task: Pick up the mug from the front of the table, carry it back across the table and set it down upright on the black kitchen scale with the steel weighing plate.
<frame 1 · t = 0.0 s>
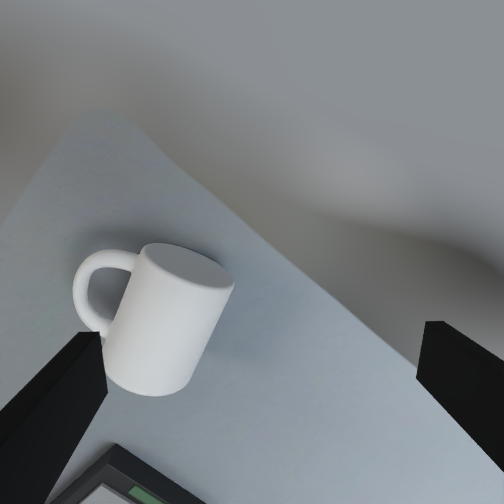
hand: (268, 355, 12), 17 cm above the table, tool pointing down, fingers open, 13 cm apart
mug: (158, 288, 28), on the table
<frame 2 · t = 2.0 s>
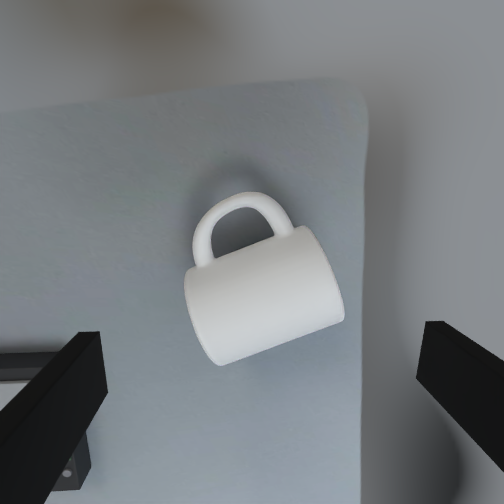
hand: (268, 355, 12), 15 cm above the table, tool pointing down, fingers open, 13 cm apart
scale: (9, 415, 28), on the table
mug: (251, 257, 26), on the table
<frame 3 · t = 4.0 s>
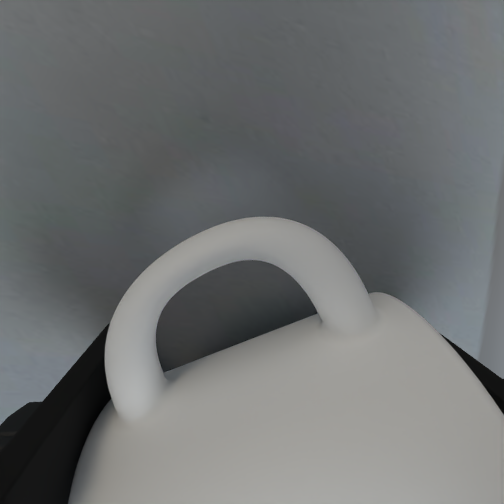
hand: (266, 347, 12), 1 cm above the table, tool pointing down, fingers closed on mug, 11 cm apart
mug: (257, 339, 13), on the table, touching gripper
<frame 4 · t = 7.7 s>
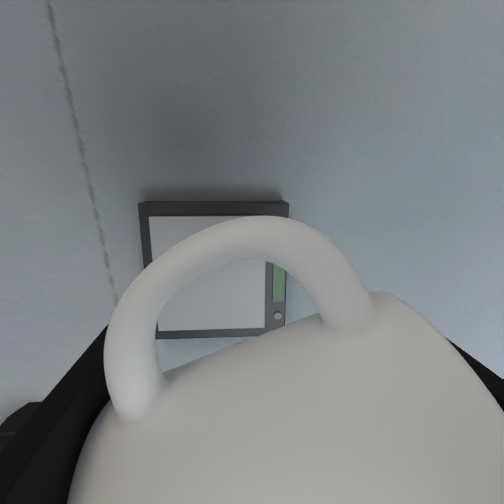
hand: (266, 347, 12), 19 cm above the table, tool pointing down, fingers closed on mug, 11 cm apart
scale: (217, 267, 31), on the table
mug: (257, 339, 13), point 18 cm above the table, touching gripper
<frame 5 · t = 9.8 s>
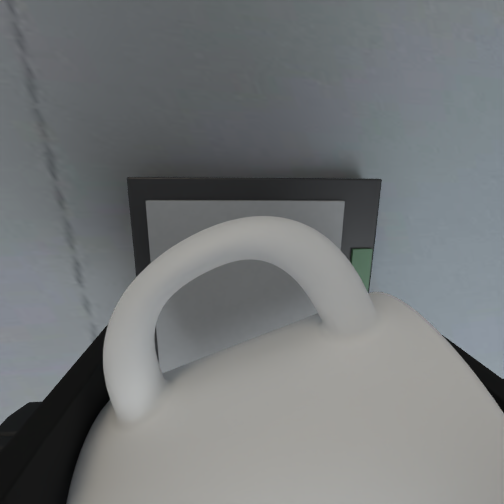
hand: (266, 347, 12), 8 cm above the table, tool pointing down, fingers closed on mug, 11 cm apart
scale: (253, 283, 20), on the table
mug: (257, 339, 13), point 7 cm above the table, touching gripper
when the fingers open (3 cm above the table, at t = 11.5 s): mug stays where it is, resting on scale.
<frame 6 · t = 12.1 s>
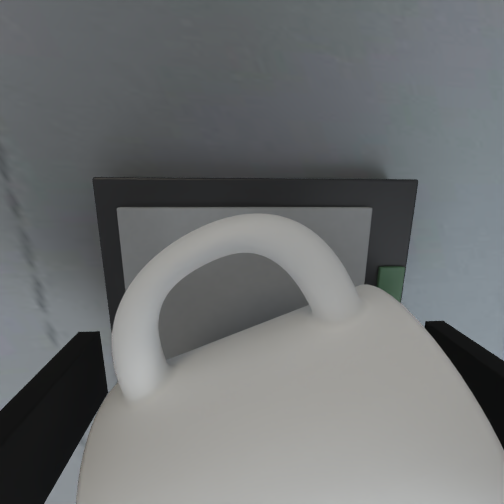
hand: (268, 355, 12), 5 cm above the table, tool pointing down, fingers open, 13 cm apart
scale: (255, 306, 16), on the table
mug: (253, 331, 14), point 3 cm above the table, touching scale
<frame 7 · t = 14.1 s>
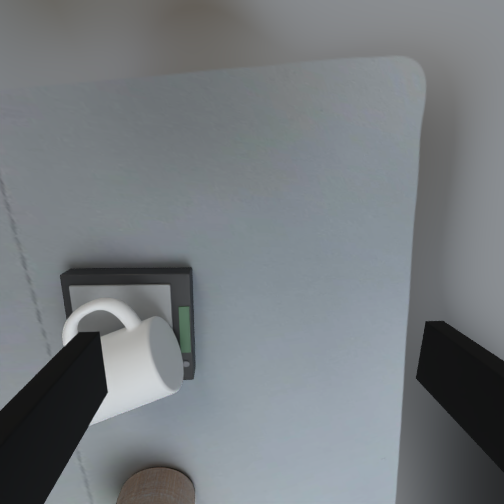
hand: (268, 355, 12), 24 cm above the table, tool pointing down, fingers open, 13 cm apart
scale: (137, 321, 36), on the table
mug: (127, 332, 33), point 3 cm above the table, touching scale
planter: (159, 490, 43), on the table
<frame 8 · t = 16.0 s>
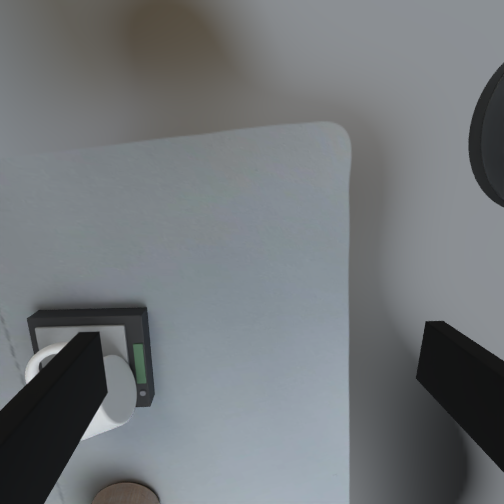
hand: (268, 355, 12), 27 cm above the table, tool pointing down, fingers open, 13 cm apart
scale: (100, 354, 40), on the table
mug: (88, 366, 38), point 3 cm above the table, touching scale
planter: (127, 502, 47), on the table
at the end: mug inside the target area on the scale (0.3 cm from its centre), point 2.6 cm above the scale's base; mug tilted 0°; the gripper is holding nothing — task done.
